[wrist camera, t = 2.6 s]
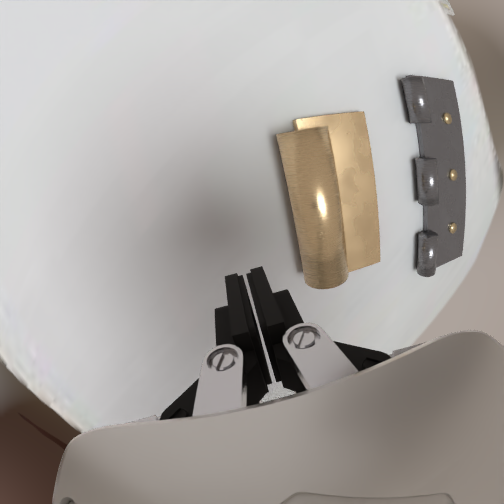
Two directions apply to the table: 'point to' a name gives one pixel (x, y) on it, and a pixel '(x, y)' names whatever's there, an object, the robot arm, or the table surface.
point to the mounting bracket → (447, 7)
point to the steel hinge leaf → (438, 169)
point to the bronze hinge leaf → (332, 196)
